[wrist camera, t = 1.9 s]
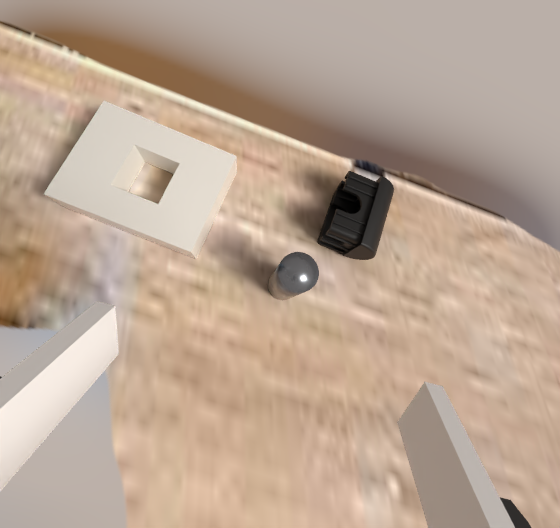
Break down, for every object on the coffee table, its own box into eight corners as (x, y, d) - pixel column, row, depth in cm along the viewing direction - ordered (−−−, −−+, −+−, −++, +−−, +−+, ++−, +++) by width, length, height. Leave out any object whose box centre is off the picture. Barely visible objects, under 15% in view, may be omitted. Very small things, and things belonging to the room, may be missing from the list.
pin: (263, 293, 37) (272, 283, 26) (274, 266, 38) (286, 245, 27) (291, 304, 37) (311, 298, 26) (300, 277, 38) (324, 261, 27)
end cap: (360, 264, 40) (384, 253, 33) (315, 246, 39) (330, 232, 33) (378, 205, 42) (403, 184, 35) (335, 187, 41) (353, 163, 35)
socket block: (65, 207, 35) (43, 194, 31) (117, 122, 39) (103, 100, 35) (196, 259, 36) (191, 252, 32) (236, 172, 40) (236, 156, 36)
